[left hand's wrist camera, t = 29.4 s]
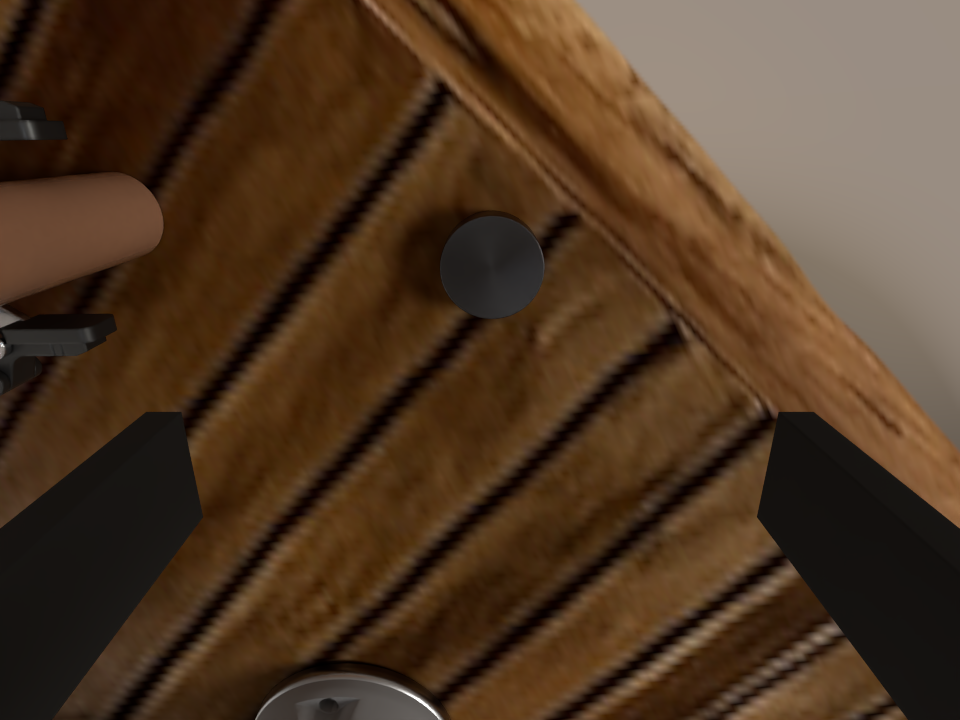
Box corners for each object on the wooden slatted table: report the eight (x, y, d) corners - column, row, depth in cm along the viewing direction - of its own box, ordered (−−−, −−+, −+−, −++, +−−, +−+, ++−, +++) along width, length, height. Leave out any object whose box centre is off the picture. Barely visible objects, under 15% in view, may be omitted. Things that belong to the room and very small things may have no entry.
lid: (530, 199, 29) (532, 204, 27) (549, 296, 31) (553, 306, 29) (431, 224, 30) (427, 229, 28) (456, 317, 32) (454, 328, 30)
